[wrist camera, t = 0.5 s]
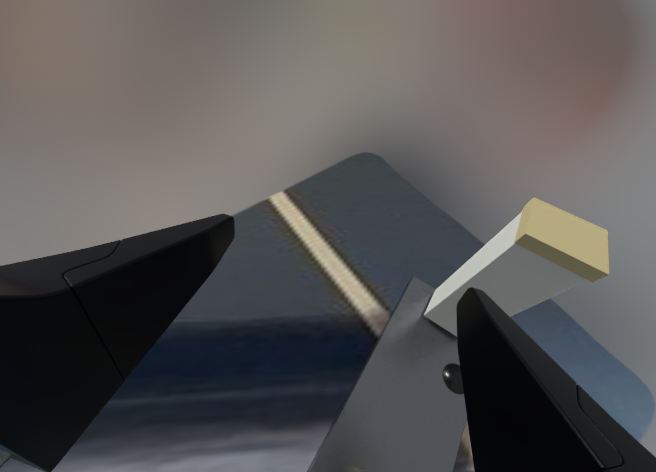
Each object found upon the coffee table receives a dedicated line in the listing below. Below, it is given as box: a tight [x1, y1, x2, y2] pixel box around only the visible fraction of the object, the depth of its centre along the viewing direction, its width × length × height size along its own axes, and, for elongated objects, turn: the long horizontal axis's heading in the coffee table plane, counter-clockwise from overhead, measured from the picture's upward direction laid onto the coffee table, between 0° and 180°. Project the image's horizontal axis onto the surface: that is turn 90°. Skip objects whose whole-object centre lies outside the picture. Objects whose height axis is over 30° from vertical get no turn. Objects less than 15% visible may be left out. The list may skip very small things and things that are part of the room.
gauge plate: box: [307, 277, 467, 472], centre depth 18 cm, size 21×8×6 cm, turn 146°
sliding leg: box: [424, 198, 609, 337], centre depth 18 cm, size 3×6×13 cm, turn 56°
